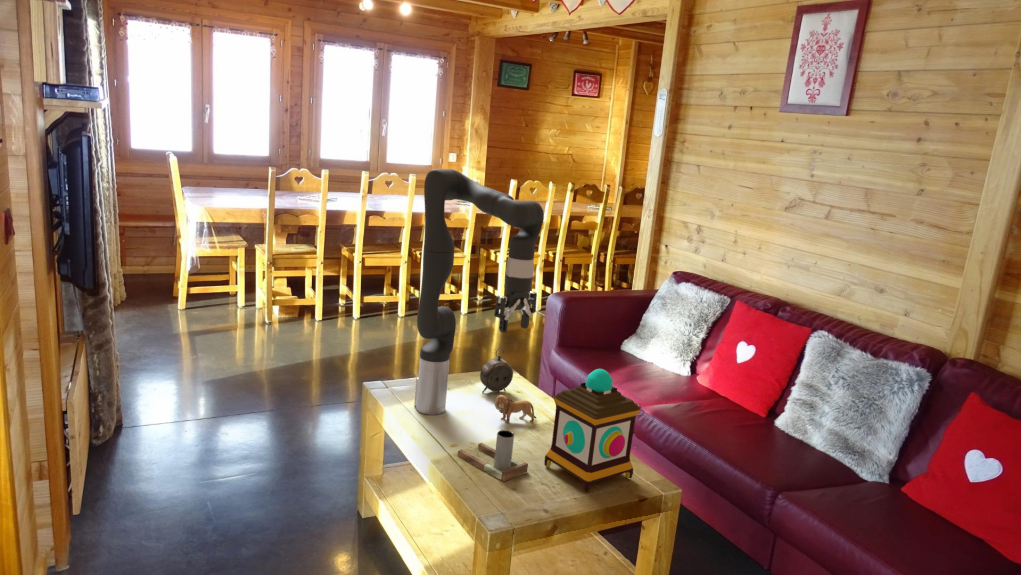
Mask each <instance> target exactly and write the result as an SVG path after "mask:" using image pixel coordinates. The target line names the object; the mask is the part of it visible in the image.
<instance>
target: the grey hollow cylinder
mask: <svg viewBox="0 0 1021 575" xmlns="http://www.w3.org/2000/svg"><path fill="white" fill-rule="evenodd" d="M514 439H515V433H514V432H512V431H511V430H503V429H502V430H499V431H497V433H496V443H495V449H494V450H495V458H494V461H493V467H494V468H496V469H498V470H499V471H501V472H502V471H504V470H507V469H509V468H512V467H511V460H512V459H513V452H514V450H513V449H514Z"/></svg>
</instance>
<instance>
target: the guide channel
mask: <svg viewBox="0 0 1021 575" xmlns="http://www.w3.org/2000/svg"><path fill="white" fill-rule="evenodd" d="M477 445H478V446H477V449H478V450H480V451H482V452H484V453H485V454H486V455H489V456H491V457H492V458H494V459H495V450H496V449H494V448H492V447H491V446H488V445H486V444H485V443H483V442H478V444H477ZM457 456H458V457H460V458H462V459H463V460H464V461H466V462H468V463H470V464H472V465H473V466H476V467H477V468H479V469H480V470H483V471H484V472H486V473H488V474H489V475H491V476H493V477H495V478H497V479H498V480H501V481H502V482H507V481H509V480H512V479H514V478H515V477H518V476H522V475H524V474H526V473H528V467H529V463H528V462H525V461H524V462H522V463H521V462H520V461H517V460H515V459H513V458H512V460H511V468H509V469H507V470H504V471H502V472H501V471H499V470H498V469H496V468H494V466H492V465H490V464H489V463H487V462H485V461H484V460H481V459H479V458H478V457H476V456H474V455H473V454H471V453H469V452H467V451H464V449H458V450H457Z"/></svg>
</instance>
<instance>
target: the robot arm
mask: <svg viewBox="0 0 1021 575" xmlns="http://www.w3.org/2000/svg"><path fill="white" fill-rule="evenodd" d="M423 196H424V197H423V198H424V241H423V242H424V243H423V253H422V257H423V258H422V275H421V288H420V296H419V303H418V309H417V316H416V326H417V328H416V329H417V331H418V333H419V335H420V336H421V338H423V339H425V340H429V341H428V342H426V343H425V344H424V345H423V346H421V348H420V352H419V363H418V376H417V378H416V379H415V388H414V389H415V391H414V402H413V403H414V407H415V406H416V407H415V409H416V411H417V410H418V411H417V412H419V413H421V414H424V415H431V416H432V415H433V416H434V415H440V414H443V413H444V412H446V407H447V406H446V404H447V394H448V392H447V391H448V380H449V369H450V356H451V353H452V351H453V349H454V342H455V336H456V335H455V334H456V327H457V325H456V324H457V322H456V315H455V313H454V311H453V309H451V308H450V307H448V306H445V305H444V306H439V300H440V297H441V292H442V290H443V288H444V286H445V284H446V283H447V281H448V279H449V277H450V275H451V273H452V270H453V268H454V261H455V243H454V239H453V236H452V234H451V232H450V229H449V228H448V225H447V222H446V218H445V206H446V205H445V204H446V201H453V200H456V201H457V200H458V201H465V202H468V203H471V204H473V206H475V207H476V208H477V209H479V211H481V212H482V213H485V214H487V215H490V216H491V217H495V218H497V219H500V220H501V221H502V222H503V223H505V224H507V225H508V226H510V227H513V228H517V229H519V231H518V233H517V234H515V235H514V236H512V237H511V238H510V241H509V248H508V258H507V260H506V261H507V262H506V270H505V279H504V289H505V295H504V296H503V295H497V296H496V300H495V301H496V302H495V308H494V317H496V318H498V319H499V322H498V323H499V324H498V325H499V326H498V330H499V332H500V333H503V334H507V332H508V325H509V320H508V319H509V317H510V316H511V315H512V314H513V313H514V312H515V311H518V310H520V312H521V313H522V314H521V318H520V319H521V320H520V328H522V329H526V330H527V329H528V328H529V325H530V316H531V315H532V314H535V313H536V312H537V310H536V308H537V297H538V296H537V295H538V294H537V292H534V291H532V288H533V278H534V270H535V268H534V266H535V264H534V262H535V261H534V260H535V253H536V252H535V251H536V244H537V242H538V238H539V236H540V233H541V230H542V227H543V224H544V217H545V216H544V210H543V207H542V205H541V204H540V203H538V202H537V201H532V200H531V201H519V200H515V199H514V198H513V196H511V195H510V194H507V193H506V192H502V191H499V190H496V189H494V188H490V187H487V186H485V185H483V184H481V183H478V182H477V181H475V180H473V179H471V178H469V177H468V176H466V175H465V174H463V173H462V172H460V171H458V170H456V169H452V168H433V169H431V170H429V171H428V172H427V173H426V176H425V178H424V184H423Z"/></svg>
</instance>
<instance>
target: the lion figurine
mask: <svg viewBox="0 0 1021 575" xmlns="http://www.w3.org/2000/svg"><path fill="white" fill-rule="evenodd" d="M494 408H495V410H497V411H498V412H499V413H501V414H502V417H501V418H500V420H501V421H504V423H505V424H507V425H508V424H509V423H510V420H511V419H510V418H511V415H512V414H516V413H520V412H522V416H519V419H520V420H523V419H525V417H526V416H528V417H529V418H530V419H529V423H530V424H533V423H534V422H535V419H537V416H535V410H534V406H533V404H532V403H531V401H529V400H525V399H524V400H519V401H515V400H513V399H512V398H511V397H508V396H507V395H505V394H499V395H497V396H496V398H495V400H494Z"/></svg>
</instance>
